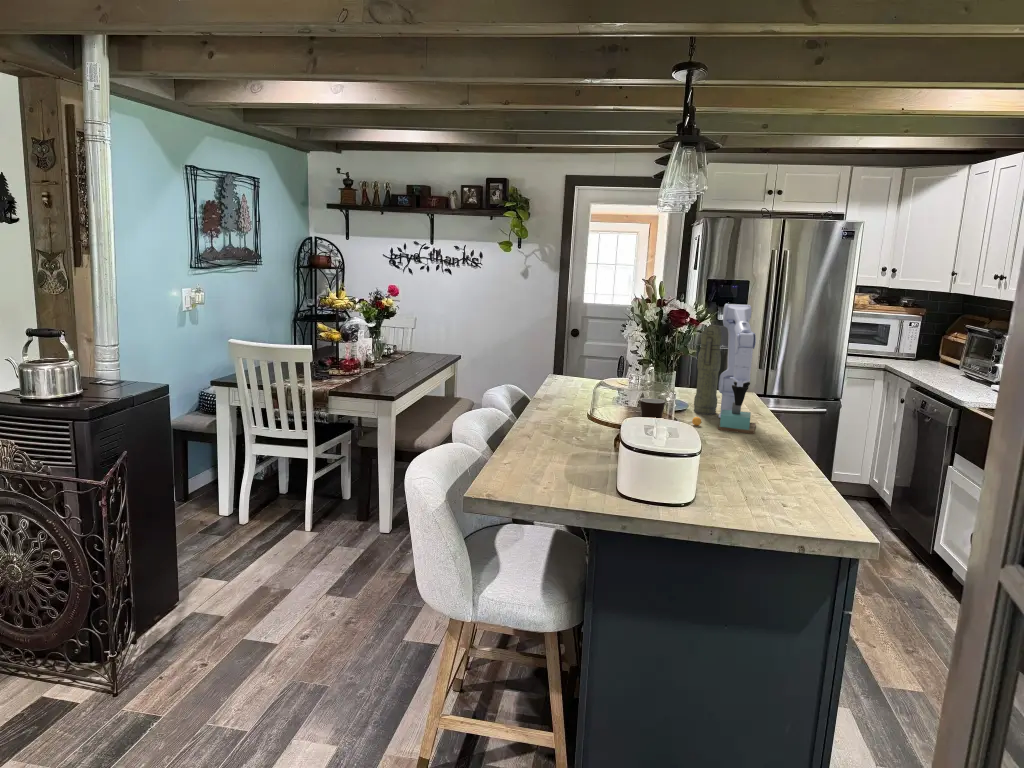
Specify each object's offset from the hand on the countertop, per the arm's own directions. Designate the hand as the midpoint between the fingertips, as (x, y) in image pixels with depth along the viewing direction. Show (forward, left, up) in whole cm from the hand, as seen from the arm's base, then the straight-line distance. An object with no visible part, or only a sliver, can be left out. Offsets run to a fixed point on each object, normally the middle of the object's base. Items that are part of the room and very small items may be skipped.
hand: (739, 403), depth 247 cm
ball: (+3, -14, -9) cm, 17 cm away
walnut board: (-1, 0, -9) cm, 9 cm away
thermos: (-23, -14, -9) cm, 28 cm away
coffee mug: (+14, -28, -10) cm, 33 cm away
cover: (0, -1, -8) cm, 8 cm away
